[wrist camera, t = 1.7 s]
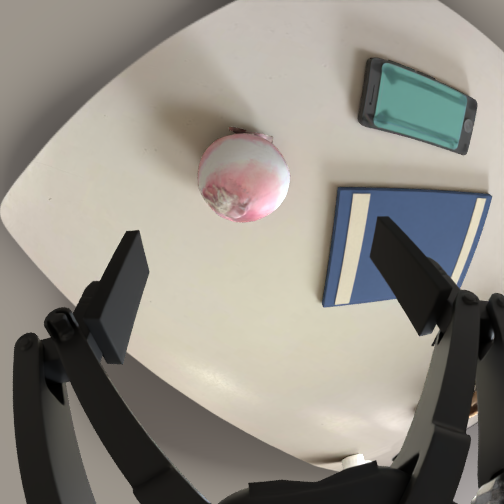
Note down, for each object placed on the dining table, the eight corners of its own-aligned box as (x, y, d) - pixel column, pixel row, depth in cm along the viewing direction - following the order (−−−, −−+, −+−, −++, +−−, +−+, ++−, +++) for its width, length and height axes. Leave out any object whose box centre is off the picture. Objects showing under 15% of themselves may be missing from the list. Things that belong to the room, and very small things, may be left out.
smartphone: (467, 157, 27) (362, 126, 25) (461, 153, 28) (356, 123, 26) (479, 100, 23) (373, 53, 21) (472, 98, 24) (367, 54, 22)
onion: (184, 157, 27) (171, 183, 21) (251, 108, 25) (258, 117, 19) (235, 217, 30) (237, 256, 24) (298, 174, 28) (318, 203, 22)
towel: (489, 193, 31) (492, 196, 30) (457, 285, 39) (460, 288, 39) (337, 187, 29) (340, 190, 29) (321, 303, 38) (323, 308, 37)
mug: (374, 450, 84) (380, 472, 76) (346, 462, 88) (351, 483, 80) (367, 448, 81) (373, 471, 73) (337, 460, 84) (342, 483, 76)
